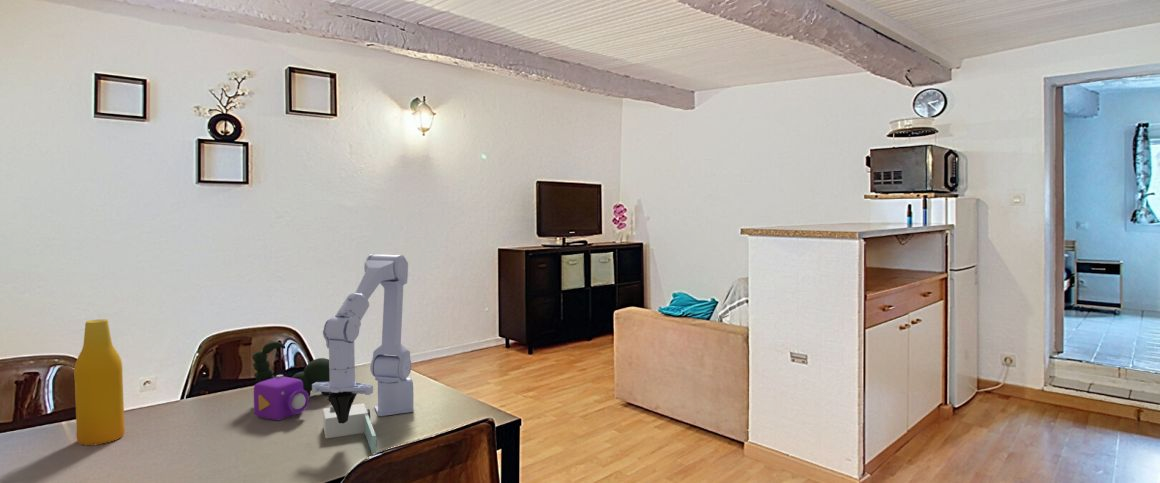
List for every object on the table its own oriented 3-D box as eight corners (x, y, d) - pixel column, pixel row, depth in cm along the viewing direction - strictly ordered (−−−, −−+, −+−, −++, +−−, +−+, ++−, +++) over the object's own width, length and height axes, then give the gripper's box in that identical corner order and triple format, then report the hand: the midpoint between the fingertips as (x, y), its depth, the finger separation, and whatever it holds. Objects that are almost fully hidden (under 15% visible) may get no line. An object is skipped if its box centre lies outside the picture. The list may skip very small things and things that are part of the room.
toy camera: (293, 424, 160) (292, 387, 160) (247, 420, 163) (246, 383, 162) (318, 411, 171) (318, 375, 170) (275, 407, 174) (274, 372, 173)
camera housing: (368, 421, 163) (367, 399, 163) (372, 431, 156) (372, 409, 156) (323, 427, 159) (322, 405, 158) (325, 438, 151) (325, 415, 151)
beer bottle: (84, 434, 152) (79, 318, 150) (129, 429, 155) (125, 316, 153) (70, 448, 143) (65, 325, 141) (119, 443, 147) (114, 323, 145)
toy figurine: (261, 415, 172) (353, 392, 185) (252, 349, 169) (346, 331, 183) (257, 405, 179) (346, 384, 193) (249, 342, 177) (339, 326, 191)
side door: (364, 432, 155) (364, 414, 155) (369, 432, 155) (368, 413, 155) (372, 455, 141) (372, 435, 141) (377, 455, 142) (377, 434, 141)
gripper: (304, 370, 144) (305, 426, 145) (363, 372, 142) (364, 429, 143) (320, 361, 151) (321, 415, 152) (376, 364, 149) (377, 418, 150)
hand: (343, 421), depth 148 cm, fingers closed
